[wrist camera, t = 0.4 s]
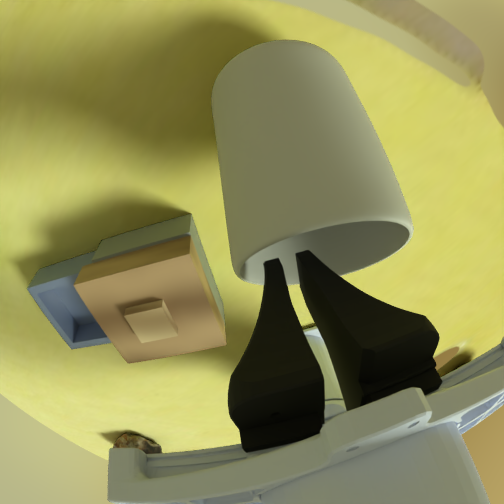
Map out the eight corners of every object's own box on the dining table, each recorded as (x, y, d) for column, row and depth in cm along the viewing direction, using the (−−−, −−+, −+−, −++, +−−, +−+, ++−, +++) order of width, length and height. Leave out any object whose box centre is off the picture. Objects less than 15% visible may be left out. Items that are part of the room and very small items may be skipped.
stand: (222, 303, 29) (225, 325, 26) (145, 320, 29) (141, 343, 26) (191, 213, 24) (189, 232, 21) (101, 240, 24) (91, 260, 21)
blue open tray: (142, 315, 28) (138, 337, 26) (78, 328, 28) (71, 349, 26) (105, 247, 24) (96, 267, 21) (38, 269, 24) (26, 288, 21)
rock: (130, 425, 41) (99, 445, 42) (140, 457, 37) (106, 474, 37) (166, 432, 47) (134, 451, 48) (177, 460, 43) (143, 476, 44)
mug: (185, 112, 18) (196, 283, 14) (270, 11, 12) (347, 193, 8) (314, 162, 25) (348, 288, 21) (393, 106, 19) (455, 245, 15)
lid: (224, 324, 26) (227, 352, 23) (131, 343, 26) (126, 370, 23) (190, 235, 21) (189, 260, 18) (82, 266, 21) (69, 292, 18)
